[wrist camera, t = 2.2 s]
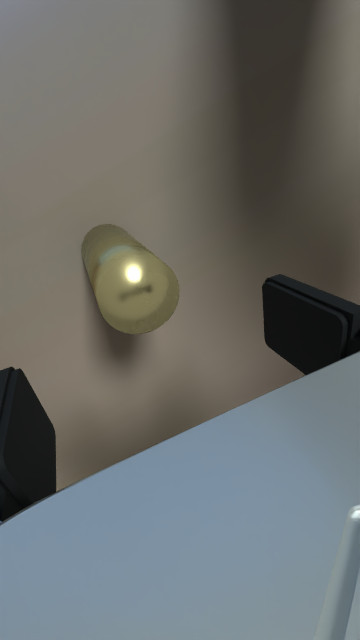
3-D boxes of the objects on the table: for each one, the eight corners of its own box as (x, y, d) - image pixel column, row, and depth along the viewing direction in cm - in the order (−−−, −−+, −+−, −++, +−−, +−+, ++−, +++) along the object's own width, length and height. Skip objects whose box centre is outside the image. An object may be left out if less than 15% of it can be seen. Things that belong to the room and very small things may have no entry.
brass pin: (73, 231, 21) (85, 269, 13) (127, 218, 22) (171, 246, 14) (91, 282, 23) (112, 344, 15) (139, 268, 24) (185, 319, 16)
